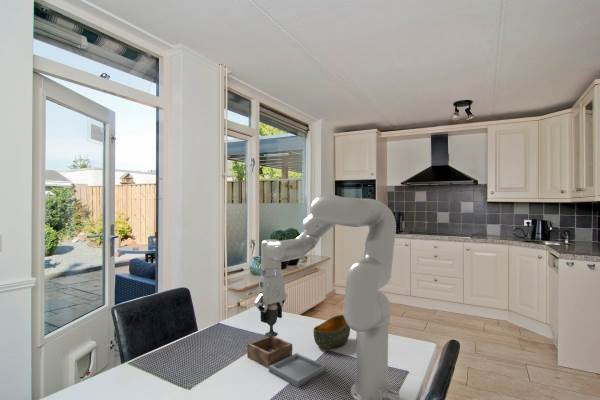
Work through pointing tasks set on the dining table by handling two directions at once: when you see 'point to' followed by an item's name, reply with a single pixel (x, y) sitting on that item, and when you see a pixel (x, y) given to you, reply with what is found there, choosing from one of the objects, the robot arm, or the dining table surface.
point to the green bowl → (332, 333)
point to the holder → (260, 347)
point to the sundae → (272, 319)
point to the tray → (297, 369)
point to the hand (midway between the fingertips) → (271, 319)
